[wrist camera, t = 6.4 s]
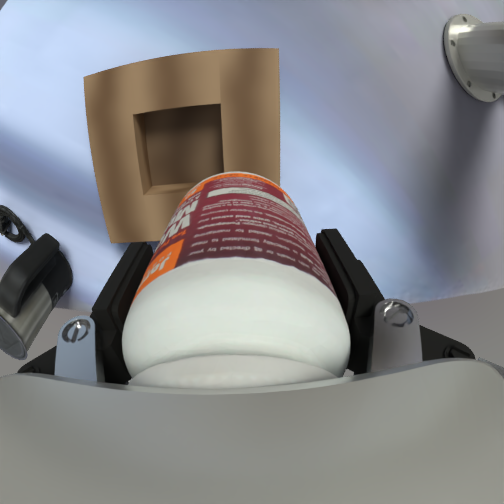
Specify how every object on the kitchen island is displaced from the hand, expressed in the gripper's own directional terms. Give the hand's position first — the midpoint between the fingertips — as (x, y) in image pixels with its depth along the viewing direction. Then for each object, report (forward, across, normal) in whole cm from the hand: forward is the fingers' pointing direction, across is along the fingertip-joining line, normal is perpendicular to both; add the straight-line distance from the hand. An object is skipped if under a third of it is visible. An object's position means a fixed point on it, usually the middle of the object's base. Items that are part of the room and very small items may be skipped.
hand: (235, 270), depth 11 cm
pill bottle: (+4, 0, 0) cm, 4 cm away
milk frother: (+21, +32, +8) cm, 39 cm away
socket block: (+20, +5, -2) cm, 21 cm away
